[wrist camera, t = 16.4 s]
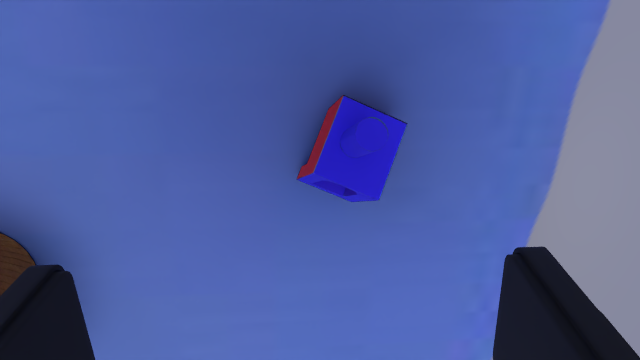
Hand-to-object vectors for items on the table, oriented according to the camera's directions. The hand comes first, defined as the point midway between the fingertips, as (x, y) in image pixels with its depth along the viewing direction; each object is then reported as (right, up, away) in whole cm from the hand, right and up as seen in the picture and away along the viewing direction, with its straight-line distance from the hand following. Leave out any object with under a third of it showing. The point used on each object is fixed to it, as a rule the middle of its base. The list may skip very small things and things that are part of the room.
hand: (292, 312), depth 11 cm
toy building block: (+2, +5, +18) cm, 19 cm away
